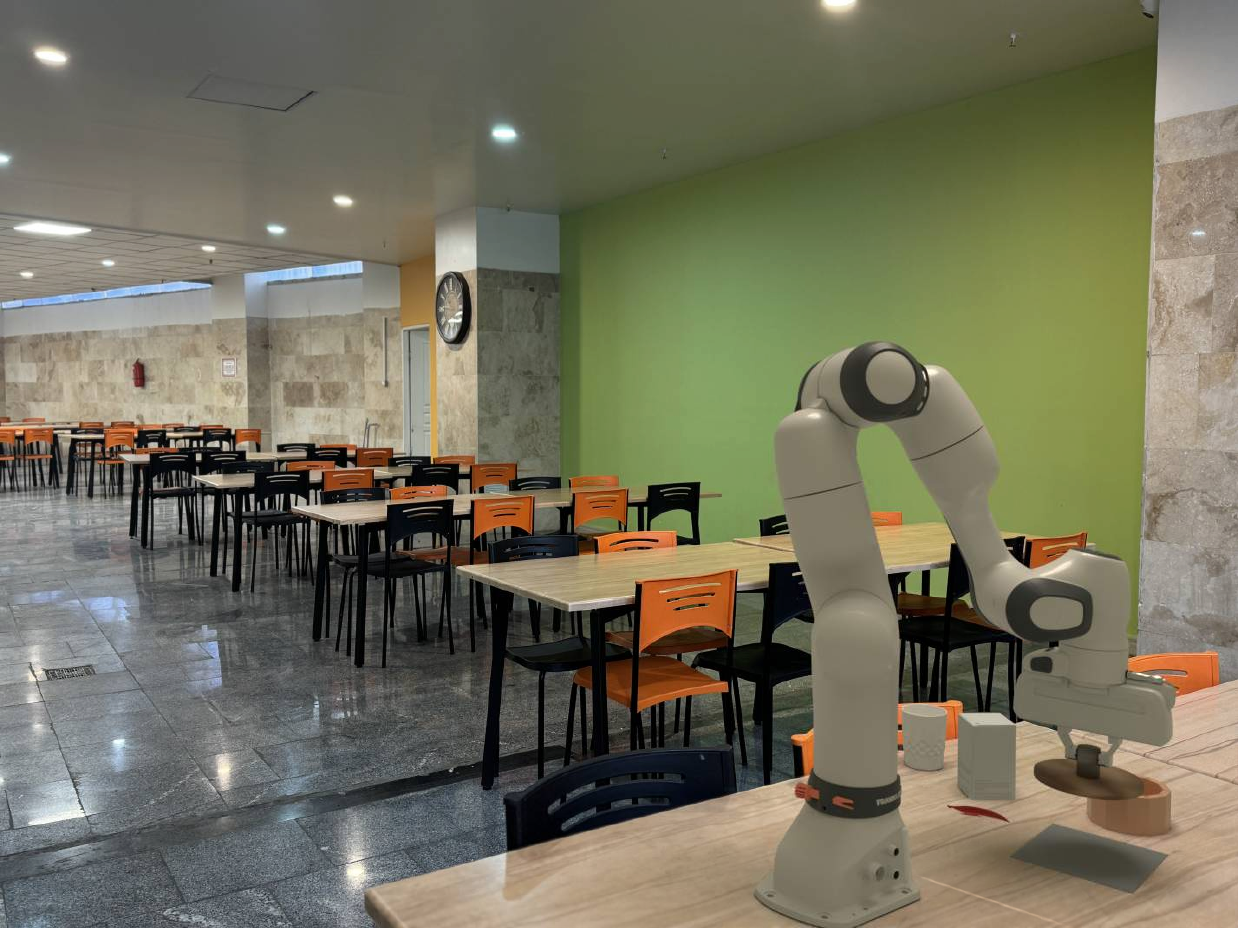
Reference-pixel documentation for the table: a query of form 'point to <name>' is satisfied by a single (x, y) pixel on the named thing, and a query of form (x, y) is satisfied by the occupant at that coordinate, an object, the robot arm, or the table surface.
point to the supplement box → (986, 756)
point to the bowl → (1135, 811)
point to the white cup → (924, 736)
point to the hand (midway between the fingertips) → (1088, 762)
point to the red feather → (978, 812)
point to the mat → (1091, 857)
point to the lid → (1088, 777)
